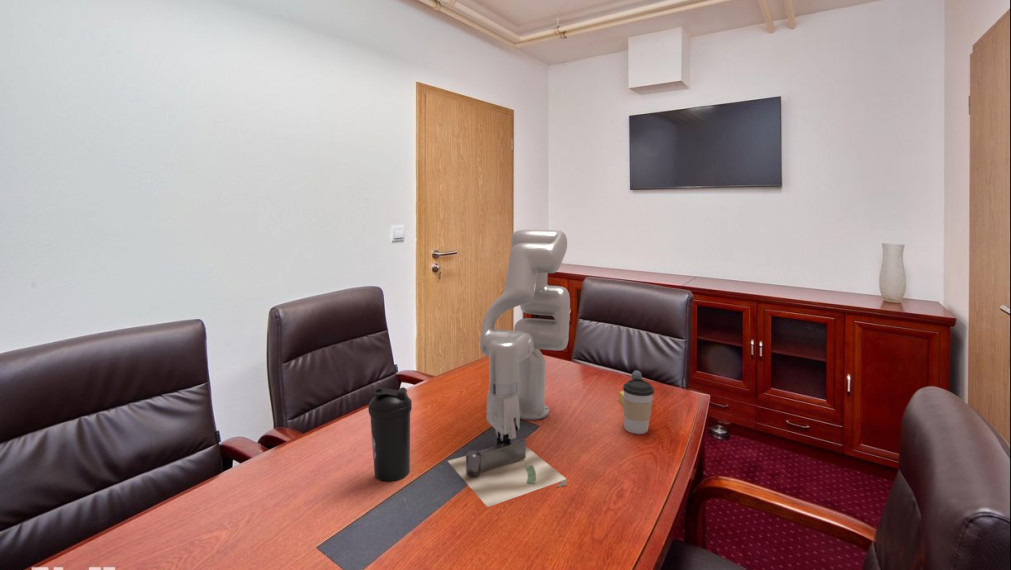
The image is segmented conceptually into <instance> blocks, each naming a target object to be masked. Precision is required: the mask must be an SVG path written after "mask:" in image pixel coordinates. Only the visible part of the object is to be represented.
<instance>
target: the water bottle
mask: <svg viewBox="0 0 1011 570" xmlns="http://www.w3.org/2000/svg"><path fill="white" fill-rule="evenodd" d="M372 396H373V397H372V398H371V400H370V401H369V403H368V405H367V406H368V407H367V408H368V409H367V411H368V414H369V417H370V428H371V429H370V431H371V432H370V433H371V444H372V445H371V447H372V456H373V457H372V459H373V460H372V461H373V469H374V471H373V472H374V478H375V479H377V480H379V481H380V482H383V483H393V482H398V481H401V480H404V479H405V478H406V477H407V476H408V475H409V474H410V470H411V411H412V408H413V407H412V405H413V402H412V401H413V400H412V399H411V398H410V397H409V395H408V390H407V388H405V387H403V386H402V387H400V388H399V389H393V388H386V387H380V386H379V387H376V388H375V389H374V390H373V392H372Z"/></svg>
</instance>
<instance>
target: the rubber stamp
mask: <svg viewBox="0 0 1011 570" xmlns="http://www.w3.org/2000/svg"><path fill="white" fill-rule="evenodd" d="M642 375H643V374H642V373H641V371H639V370H634V371H633V372H632V373H631V380H633V379H642V380H643V376H642ZM623 396H624V390H620V391H619V393H618V402H619V403H620V404H621V405H622V406H623V407H624V398H623ZM652 399H653V397H652Z"/></svg>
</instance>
